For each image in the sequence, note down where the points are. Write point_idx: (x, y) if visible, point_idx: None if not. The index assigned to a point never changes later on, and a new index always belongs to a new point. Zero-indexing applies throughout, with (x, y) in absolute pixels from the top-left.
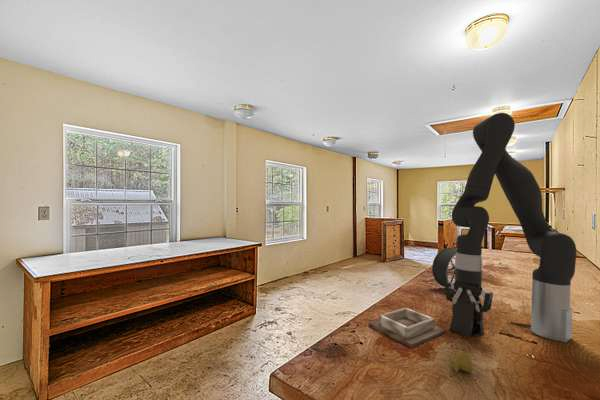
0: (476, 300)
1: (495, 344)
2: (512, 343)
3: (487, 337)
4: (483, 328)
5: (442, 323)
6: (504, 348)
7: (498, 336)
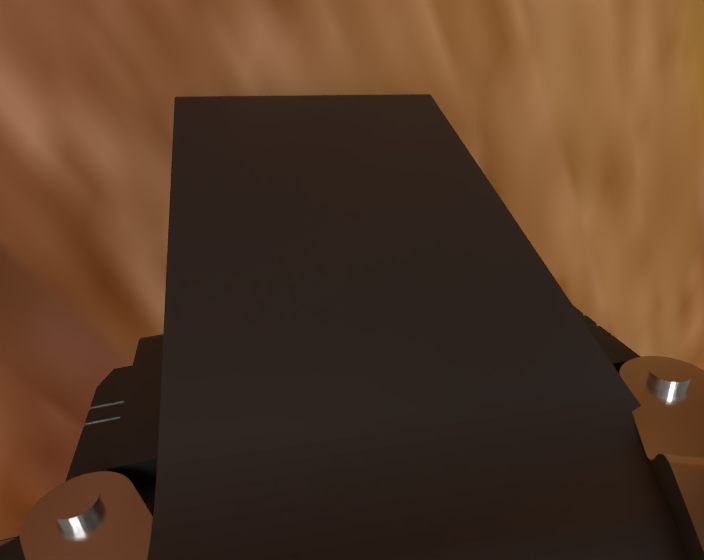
0: (689, 548)
1: (589, 253)
2: (689, 60)
3: (493, 178)
4: (443, 117)
5: (24, 345)
6: (656, 250)
7: (554, 17)
